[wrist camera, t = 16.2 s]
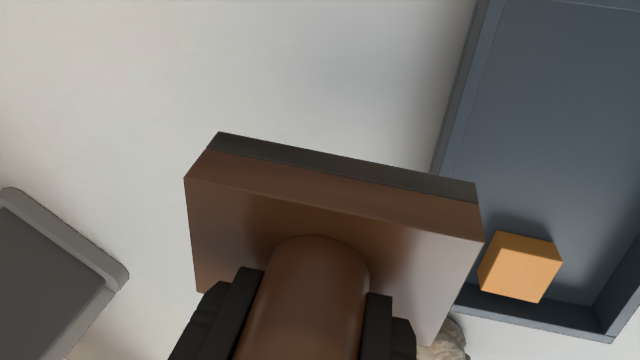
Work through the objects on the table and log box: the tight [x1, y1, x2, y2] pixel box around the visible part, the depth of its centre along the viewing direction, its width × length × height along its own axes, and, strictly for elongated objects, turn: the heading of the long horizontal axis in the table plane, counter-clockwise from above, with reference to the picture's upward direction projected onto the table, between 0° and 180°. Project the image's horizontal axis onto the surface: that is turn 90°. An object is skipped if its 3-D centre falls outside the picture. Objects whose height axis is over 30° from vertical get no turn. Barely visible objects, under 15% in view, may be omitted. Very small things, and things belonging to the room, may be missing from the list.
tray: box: [429, 0, 640, 344], centre depth 25 cm, size 22×15×3 cm
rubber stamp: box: [184, 131, 485, 360], centre depth 11 cm, size 5×8×8 cm, turn 83°
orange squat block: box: [477, 230, 563, 303], centre depth 29 cm, size 4×4×2 cm
